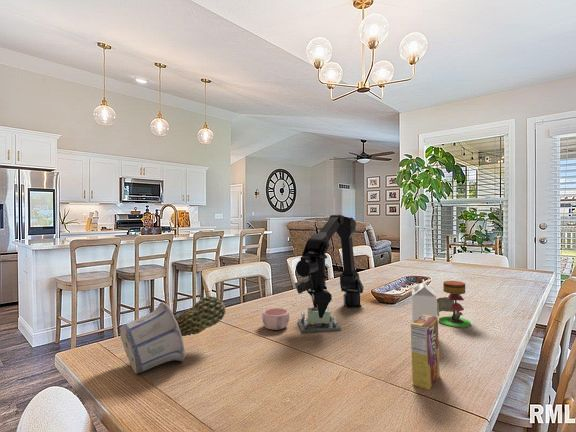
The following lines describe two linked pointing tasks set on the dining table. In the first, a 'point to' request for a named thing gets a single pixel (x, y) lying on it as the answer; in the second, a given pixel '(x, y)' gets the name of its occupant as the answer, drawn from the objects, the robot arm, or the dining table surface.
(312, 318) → the pale green block
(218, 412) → the dining table surface
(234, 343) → the dining table surface
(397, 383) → the dining table surface
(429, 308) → the milk carton
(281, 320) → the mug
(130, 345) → the potted plant
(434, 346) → the candy box
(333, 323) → the chassis
